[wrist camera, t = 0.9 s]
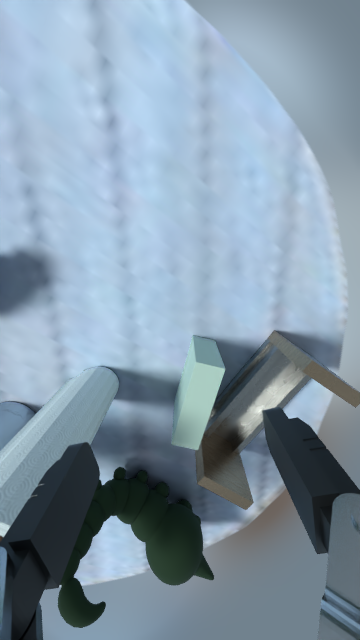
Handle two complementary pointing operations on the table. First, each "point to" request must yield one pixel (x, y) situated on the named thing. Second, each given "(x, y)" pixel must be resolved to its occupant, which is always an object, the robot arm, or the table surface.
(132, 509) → the toy figurine
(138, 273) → the table surface
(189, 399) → the pale green rectangular block
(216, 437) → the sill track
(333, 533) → the robot arm
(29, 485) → the paper towel roll
